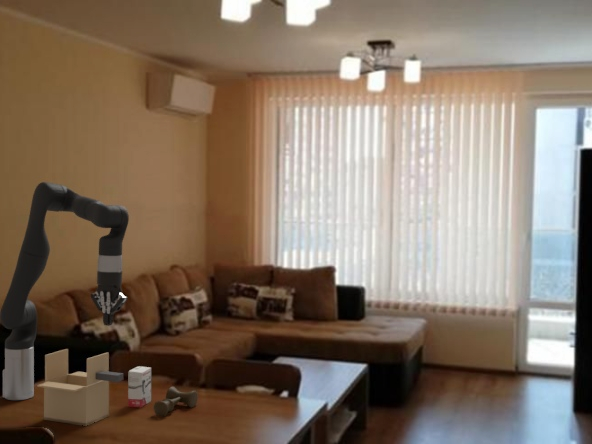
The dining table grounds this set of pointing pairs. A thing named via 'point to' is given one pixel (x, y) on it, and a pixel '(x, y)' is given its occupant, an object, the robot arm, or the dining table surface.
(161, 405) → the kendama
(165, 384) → the dining table surface
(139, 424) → the dining table surface
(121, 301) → the robot arm
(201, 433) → the dining table surface
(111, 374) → the flap
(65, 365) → the carton
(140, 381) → the ink box
